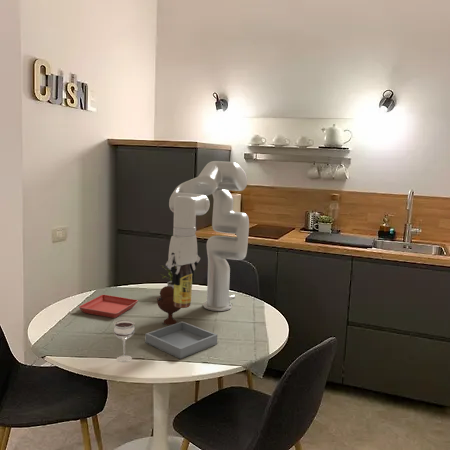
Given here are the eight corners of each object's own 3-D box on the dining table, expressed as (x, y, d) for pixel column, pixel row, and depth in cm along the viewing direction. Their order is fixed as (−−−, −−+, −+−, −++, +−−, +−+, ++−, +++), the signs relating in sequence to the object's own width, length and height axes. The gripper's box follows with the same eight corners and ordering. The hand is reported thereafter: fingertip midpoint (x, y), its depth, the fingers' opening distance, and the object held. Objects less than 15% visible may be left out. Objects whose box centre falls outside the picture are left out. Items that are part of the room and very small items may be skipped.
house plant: (150, 294, 227) (151, 260, 225) (174, 289, 236) (175, 256, 234) (169, 302, 217) (169, 266, 214) (193, 296, 226) (194, 262, 224)
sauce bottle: (183, 310, 166) (185, 253, 163) (169, 306, 169) (170, 251, 166) (195, 305, 172) (196, 250, 168) (181, 301, 175) (181, 247, 171)
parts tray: (182, 329, 185) (182, 321, 185) (217, 343, 174) (217, 334, 173) (145, 343, 172) (145, 333, 171) (180, 359, 160) (180, 349, 160)
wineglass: (138, 360, 158) (138, 325, 156) (118, 364, 154) (118, 329, 152) (129, 352, 164) (129, 318, 162) (110, 356, 160) (110, 322, 158)
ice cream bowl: (179, 328, 186) (180, 291, 184) (152, 325, 189) (152, 288, 186) (187, 319, 197) (188, 283, 194) (161, 316, 199) (161, 280, 196)
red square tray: (116, 321, 193) (116, 313, 192) (77, 314, 198) (77, 306, 198) (138, 307, 210) (138, 300, 209) (102, 301, 215) (102, 294, 215)
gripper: (194, 227, 175) (192, 276, 178) (157, 232, 162) (156, 285, 165) (209, 230, 170) (207, 280, 173) (173, 236, 157) (171, 290, 160)
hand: (183, 282), depth 169 cm, fingers closed on sauce bottle, 6 cm apart
